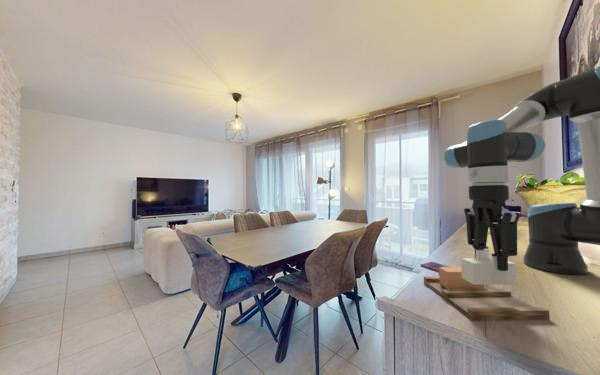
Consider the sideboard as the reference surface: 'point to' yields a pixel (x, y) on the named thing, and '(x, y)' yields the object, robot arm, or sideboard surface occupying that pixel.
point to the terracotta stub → (455, 279)
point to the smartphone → (433, 266)
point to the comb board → (487, 303)
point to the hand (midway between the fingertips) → (491, 278)
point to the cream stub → (484, 271)
